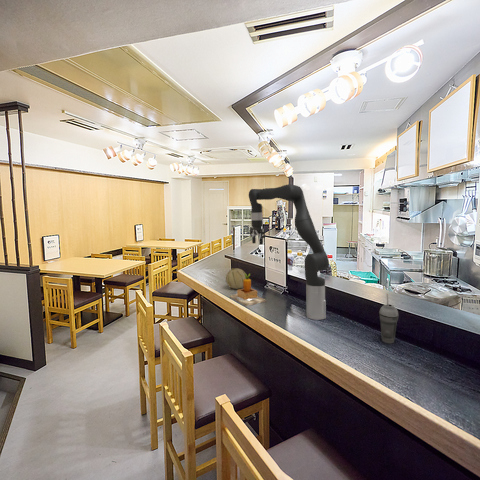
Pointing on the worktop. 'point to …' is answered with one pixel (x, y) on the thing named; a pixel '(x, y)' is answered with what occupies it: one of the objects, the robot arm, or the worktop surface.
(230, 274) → the cantaloupe
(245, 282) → the carrot
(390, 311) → the beverage cup
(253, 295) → the socket collar
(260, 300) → the base board
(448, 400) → the worktop surface
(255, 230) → the robot arm
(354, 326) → the worktop surface
